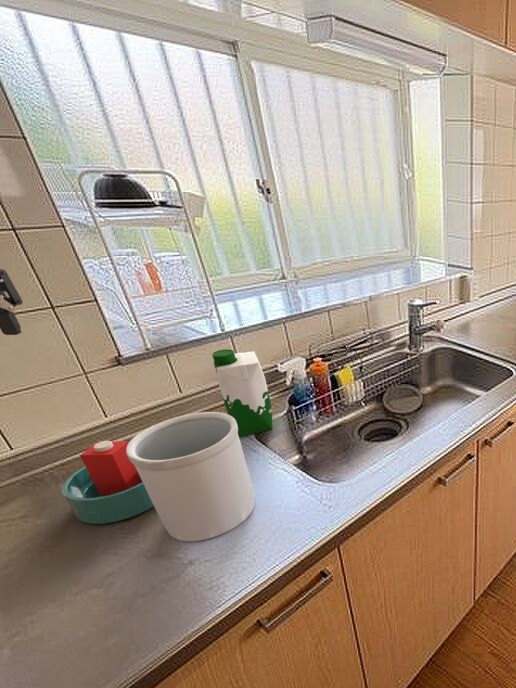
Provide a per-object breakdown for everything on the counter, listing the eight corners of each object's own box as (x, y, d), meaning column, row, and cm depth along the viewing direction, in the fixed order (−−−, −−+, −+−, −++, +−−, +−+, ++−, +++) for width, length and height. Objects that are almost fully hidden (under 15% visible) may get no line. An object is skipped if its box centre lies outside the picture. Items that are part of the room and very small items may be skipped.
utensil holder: (151, 513, 76) (115, 433, 68) (241, 475, 87) (219, 402, 78) (176, 560, 68) (138, 475, 60) (272, 512, 78) (250, 434, 70)
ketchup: (104, 503, 77) (77, 451, 72) (119, 488, 80) (95, 438, 75) (134, 502, 78) (110, 450, 72) (148, 487, 81) (126, 437, 76)
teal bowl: (54, 528, 72) (38, 502, 69) (113, 474, 85) (101, 450, 82) (146, 524, 74) (133, 498, 71) (190, 472, 87) (181, 448, 84)
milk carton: (231, 422, 103) (209, 347, 94) (272, 413, 108) (255, 341, 98) (234, 440, 97) (211, 362, 87) (278, 430, 101) (260, 354, 92)
